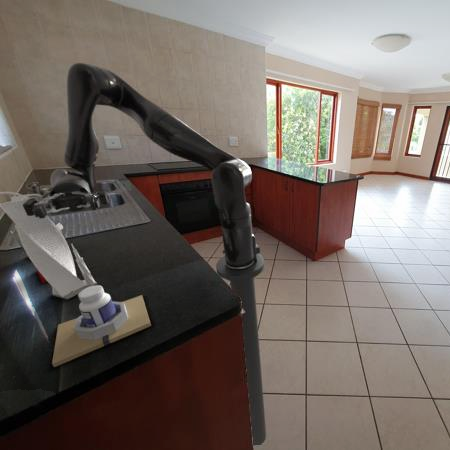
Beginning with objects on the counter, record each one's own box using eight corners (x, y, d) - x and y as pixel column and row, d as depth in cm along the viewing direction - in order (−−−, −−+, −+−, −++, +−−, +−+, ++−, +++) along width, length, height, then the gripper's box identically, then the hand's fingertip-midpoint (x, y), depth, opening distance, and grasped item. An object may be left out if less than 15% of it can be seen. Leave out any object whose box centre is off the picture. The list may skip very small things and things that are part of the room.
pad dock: (142, 298, 62) (139, 287, 61) (151, 325, 54) (147, 314, 52) (59, 328, 53) (53, 316, 51) (54, 367, 44) (46, 354, 43)
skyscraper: (60, 303, 59) (-4, 192, 49) (44, 298, 62) (-18, 194, 52) (97, 283, 66) (48, 184, 56) (81, 280, 69) (32, 186, 60)
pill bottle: (118, 311, 56) (106, 280, 53) (118, 325, 52) (106, 292, 49) (89, 320, 53) (75, 289, 50) (87, 336, 50) (72, 303, 46)
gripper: (26, 183, 57) (11, 198, 46) (101, 176, 66) (103, 188, 54) (39, 212, 60) (28, 233, 49) (109, 202, 69) (113, 218, 57)
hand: (67, 209), depth 51 cm, fingers open, 8 cm apart
